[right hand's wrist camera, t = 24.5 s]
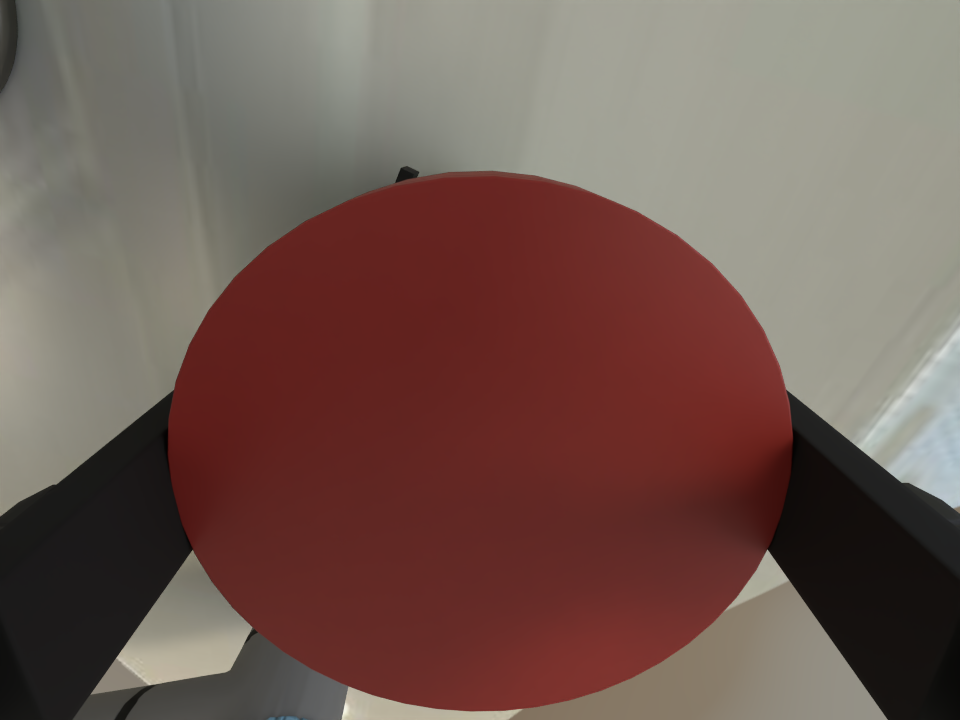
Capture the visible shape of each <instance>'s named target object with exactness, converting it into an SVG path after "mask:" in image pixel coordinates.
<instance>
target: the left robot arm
mask: <svg viewBox="0 0 960 720" xmlns="http://www.w3.org/2000/svg"><path fill="white" fill-rule="evenodd" d="M16 48H17V14H16V6H15V0H0V92H1V91H2V89H3V87H4V86H5V84H6V82H7V80H8V78H9V75H10V73H11V70H12V67H13V63H14V59H15V54H16ZM418 174H419V172H418V171H416V170H414V169H412V168H410V167H408V166H406V167H403V168H401V169H400V172H399V174H398V177H397V180H396V182H395V183H398V182H401V181H404V180H407V179H413V178H417V176H418ZM347 690H348V686H346V685H344V684H341V683H339V682H337V681H335V680H333V679H331V678H329V677H327V676H324V675H322V674H320V673H318V672H316V671H314V670H312V669H310V668H309V667H307V666H305V665H304V664H302V663H301V662H299V661H297V660H296V659H294V658H292V657H291V656H289V655H288V654H286V653H284V652H283V651H282V650H280V649H279V648H278V647H276V646H275V645H274V644H273V643H271V642H270V641H269V640H267V639H266V638H265V637H264V636H262V635H261V634H260V633H258V632H257V631H256V630H255V629H254V628H252V630H251V632H250V634H249V635H248V637H247V639H246V641H245V643H244V645H243V647H242V649H241V651H240V653H239V655H238V657H237V659H236V661H235V662H234V664H233V666H232V668H231V670H230V671H228V672H225V673H220V674H213V675H207V676H201V677H195V678H190V679H184V680H178V681H172V682H166V683H161V684H156V685H149V686H143V687H136V688H130V689H124V690H117V691H112V692H105V693H98V694H92V695H90V696H89V697H88V698H87V700H86V701H85V703H84V704H83V706H82V707H81V708H80V710H79V711H78V713H77V714H76V715H75V717H74V718H73V720H341V719H342V714H343V709H344V705H345V700H346V695H347Z"/></svg>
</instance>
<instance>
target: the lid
mask: <svg viewBox="0 0 960 720" xmlns="http://www.w3.org/2000/svg"><path fill="white" fill-rule="evenodd" d="M792 451H793V433H792V423H791V413H790V403H789V399H788V395H787V392H786V388H785V384H784V380H783V376H782V373H781V369H780V365H779V363H778V361H777V359H776V356H775V354H774V352H773V350H772V347H771V345H770V343H769V341H768V339H767V336H766V334H765V332H764V330H763V328H762V327H761V325H760V324H759V322H758V321H757V319H756V317H755V316H754V314H753V313H752V311H751V310H750V308H749V307H748V305H747V304H746V302H745V301H744V299H743V298H742V296H741V295H740V294H739V293H738V292H737V290H736V289H735V288H734V287H733V286H732V285H731V284H730V283H729V282H728V280H727V279H726V278H725V277H724V276H723V275H722V274H721V273H720V272H719V271H718V269H717V268H716V267H715V266H714V265H713V264H712V263H711V262H710V261H708V260H707V259H706V258H705V257H703V256H702V255H701V254H700V253H699V252H697V251H696V250H695V249H694V248H692V247H691V246H690V245H689V244H687V243H686V242H685V241H684V240H683V239H681V238H680V237H679V236H678V235H676V234H674V233H673V232H671V231H669V230H667V229H666V228H664V227H662V226H661V225H659V224H657V223H656V222H654V221H652V220H651V219H649V218H647V217H645V216H644V215H642V214H640V213H639V212H637V211H635V210H632V209H630V208H628V207H625V206H623V205H621V204H619V203H616V202H614V201H611V200H609V199H607V198H604V197H602V196H599V195H597V194H594V193H592V192H589V191H587V190H585V189H582V188H580V187H577V186H574V185H570V184H566V183H562V182H558V181H554V180H550V179H546V178H543V177H539V176H534V175H525V174H516V173H507V172H498V171H474V172H448V173H442V174H436V175H430V176H424V177H418V178H413V179H407V180H404V181H401V182H398V183H394V184H391V185H388V186H385V187H382V188H379V189H376V190H372V191H369V192H367V193H364V194H362V195H360V196H357V197H355V198H353V199H350V200H348V201H346V202H344V203H342V204H340V205H338V206H336V207H334V208H332V209H329V210H327V211H325V212H323V213H321V214H319V215H317V216H315V217H313V218H311V219H309V220H307V221H305V222H303V223H302V224H300V225H299V226H297V227H296V228H295V229H293V230H292V231H290V232H289V233H287V234H286V235H284V236H283V237H281V238H280V239H278V240H277V241H275V242H274V243H272V244H271V245H269V246H268V247H267V248H266V249H265V250H263V251H262V252H261V253H260V254H259V255H258V256H257V257H256V258H255V259H254V260H253V261H252V262H251V263H249V264H248V265H247V266H246V267H245V268H244V269H243V270H242V271H241V272H240V273H239V274H238V275H236V276H235V278H234V279H233V280H232V281H231V283H230V284H229V285H228V286H227V288H226V289H225V290H224V291H223V293H222V294H221V295H220V296H219V298H218V299H217V300H216V301H215V303H214V304H213V305H212V307H211V308H210V309H209V311H208V312H207V314H206V316H205V318H204V319H203V321H202V323H201V325H200V327H199V328H198V330H197V332H196V334H195V335H194V337H193V339H192V341H191V343H190V344H189V347H188V349H187V352H186V355H185V358H184V360H183V363H182V366H181V369H180V371H179V374H178V377H177V379H176V383H175V388H174V393H173V399H172V404H171V409H170V414H169V423H168V453H167V455H168V463H169V471H170V478H171V483H172V487H173V492H174V496H175V500H176V503H177V507H178V511H179V515H180V519H181V523H182V526H183V528H184V530H185V533H186V535H187V537H188V539H189V542H190V544H191V546H192V549H193V551H194V553H195V555H196V556H197V558H198V560H199V561H200V563H201V565H202V566H203V568H204V570H205V571H206V573H207V574H208V576H209V578H210V579H211V581H212V582H213V584H214V585H215V586H216V587H217V589H218V590H219V591H220V592H221V594H222V595H223V596H224V597H225V599H226V600H227V601H228V602H229V604H230V605H231V606H232V607H233V608H234V609H235V610H236V611H237V612H238V613H239V614H240V615H241V616H242V617H243V618H244V619H245V620H246V621H247V622H248V623H249V624H250V625H251V626H252V627H253V628H254V629H255V630H256V631H257V632H258V633H260V634H261V635H262V636H264V637H265V638H266V639H267V640H269V641H270V642H271V643H273V644H274V645H275V646H276V647H278V648H279V649H280V650H282V651H283V652H284V653H286V654H288V655H289V656H291V657H292V658H294V659H296V660H297V661H299V662H301V663H302V664H304V665H305V666H307V667H309V668H310V669H312V670H314V671H316V672H318V673H320V674H322V675H324V676H327V677H329V678H331V679H333V680H335V681H337V682H339V683H341V684H344V685H346V686H349V687H352V688H355V689H357V690H360V691H363V692H365V693H368V694H371V695H374V696H378V697H382V698H385V699H389V700H393V701H397V702H401V703H405V704H411V705H417V706H423V707H429V708H435V709H445V710H459V711H506V710H515V709H524V708H533V707H539V706H544V705H549V704H554V703H559V702H564V701H569V700H572V699H576V698H579V697H582V696H585V695H589V694H592V693H595V692H598V691H602V690H604V689H606V688H609V687H611V686H614V685H616V684H619V683H621V682H623V681H626V680H628V679H631V678H633V677H635V676H636V675H638V674H640V673H642V672H644V671H646V670H648V669H650V668H651V667H653V666H655V665H657V664H659V663H661V662H662V661H664V660H665V659H667V658H668V657H670V656H671V655H672V654H674V653H675V652H677V651H678V650H680V649H681V648H683V647H684V646H686V645H687V644H689V643H690V642H691V641H692V640H693V639H695V638H696V637H697V636H698V635H699V634H700V633H701V632H703V631H704V630H705V629H706V628H707V627H709V626H710V625H711V624H712V623H713V622H714V621H715V620H716V619H717V618H718V617H719V616H720V615H721V614H722V613H723V612H724V610H725V609H726V608H727V607H728V606H729V605H730V604H731V603H732V602H733V601H734V600H735V599H736V598H737V596H738V595H739V593H740V592H741V591H742V589H743V588H744V586H745V585H746V584H747V582H748V581H749V579H750V578H751V577H752V575H753V574H754V573H755V571H756V570H757V568H758V566H759V564H760V562H761V560H762V558H763V557H764V555H765V553H766V551H767V549H768V547H769V545H770V544H771V542H772V539H773V537H774V534H775V531H776V529H777V526H778V523H779V521H780V517H781V514H782V510H783V506H784V502H785V498H786V493H787V489H788V485H789V481H790V476H791V468H792Z"/></svg>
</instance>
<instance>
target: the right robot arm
mask: <svg viewBox="0 0 960 720" xmlns="http://www.w3.org/2000/svg"><path fill="white" fill-rule="evenodd" d="M786 392H787V395H788V399H789V403H790V413H791V423H792V433H793V451H792V468H791V476H790V481H789V485H788V489H787V493H786V498H785V502H784V506H783V510H782V514H781V517H780V521H779V523H778V526H777V529H776V531H775V534H774V537H773V539H772V542H771V544H770V545H769V547H768V551H769V552H770V554H771V555H772V556H773V558H774V559H775V561H776V562H777V563H778V565H779V566H780V568H781V569H782V571H783V572H784V573H785V575H786V576H787V578H788V579H789V580H790V582H791V583H792V585H793V586H794V587H795V589H796V590H797V592H798V593H799V595H800V596H801V597H802V599H803V600H804V602H805V603H806V604H807V606H808V607H809V609H810V610H811V611H812V613H813V614H814V616H815V617H816V619H817V620H818V621H819V623H820V624H821V626H822V627H823V629H824V630H825V631H826V633H827V634H828V635H829V637H830V638H831V640H832V641H833V643H834V644H835V646H836V647H837V648H838V650H839V651H840V653H841V654H842V655H843V657H844V658H845V660H846V661H847V662H848V664H849V665H850V667H851V668H852V670H853V671H854V672H855V674H856V675H857V677H858V678H859V680H860V681H861V682H862V684H863V685H864V687H865V688H866V689H867V691H868V692H869V694H870V695H871V697H872V698H873V699H874V701H875V702H876V704H877V705H878V706H879V708H880V709H881V711H882V712H883V713H884V715H885V716H886V718H887V719H888V720H960V514H959V513H958V512H957V511H955V510H954V509H953V508H952V507H950V506H949V505H948V504H946V503H945V502H944V501H943V500H941V499H939V498H937V497H935V496H933V495H931V494H929V493H927V492H925V491H923V490H921V489H919V488H917V487H915V486H913V485H911V484H909V483H901V482H900V481H899V480H897V479H896V478H895V477H894V476H892V475H891V474H890V473H889V472H888V471H886V470H885V469H884V468H883V467H881V466H880V465H879V464H878V463H876V462H875V461H874V460H873V459H871V458H870V457H869V456H868V455H866V454H865V453H864V452H863V451H861V450H860V449H859V448H858V447H857V446H855V445H854V444H853V443H852V442H850V441H849V440H848V439H847V438H845V437H844V436H843V435H842V434H840V433H839V432H838V431H837V430H835V429H834V428H833V427H832V426H831V425H829V424H828V423H827V422H826V421H824V420H823V419H822V418H821V417H819V416H818V415H817V414H816V413H814V412H813V411H812V410H811V409H809V408H808V407H807V406H806V405H804V404H803V403H802V402H801V401H800V400H798V399H797V398H796V397H795V396H793V395H792V394H791V393H790V392H788V391H787V390H786ZM173 393H174V390H173V391H172V392H171V393H170V394H168V395H167V396H166V397H165V398H163V399H162V400H161V401H160V402H158V403H157V404H156V405H155V406H153V407H152V408H151V409H150V410H148V411H147V412H146V413H145V414H144V415H142V416H141V417H140V418H139V419H137V420H136V421H135V422H134V423H132V424H131V425H130V426H129V427H127V428H126V429H125V430H124V431H122V432H121V433H120V434H119V435H118V436H116V437H115V438H114V439H113V440H111V441H110V442H109V443H108V444H106V445H105V446H104V447H103V448H101V449H100V450H99V451H98V452H96V453H95V454H94V455H93V456H91V457H90V458H89V459H88V460H87V461H85V462H84V463H83V464H82V465H80V466H79V467H78V468H77V469H75V470H74V471H73V472H72V473H70V474H69V475H68V476H67V477H65V478H64V479H63V480H62V481H60V482H59V483H58V484H57V485H51V486H49V487H48V488H46V489H44V490H42V491H40V492H38V493H36V494H34V495H32V496H30V497H28V498H26V499H24V500H22V501H20V502H19V503H17V504H16V505H15V506H13V507H12V508H11V509H10V510H8V511H7V512H6V513H5V514H3V515H2V516H1V517H0V720H73V718H74V717H75V715H76V714H77V713H78V711H79V710H80V708H81V707H82V706H83V704H84V703H85V701H86V700H87V698H88V697H89V696H90V694H91V693H92V691H93V690H94V689H95V687H96V686H97V684H98V683H99V681H100V680H101V679H102V677H103V676H104V674H105V673H106V672H107V670H108V669H109V667H110V666H111V664H112V663H113V662H114V660H115V659H116V657H117V656H118V655H119V653H120V652H121V650H122V649H123V647H124V646H125V645H126V643H127V642H128V640H129V639H130V638H131V636H132V635H133V633H134V632H135V631H136V629H137V628H138V626H139V625H140V623H141V622H142V621H143V619H144V618H145V616H146V615H147V614H148V612H149V611H150V609H151V608H152V606H153V605H154V604H155V602H156V601H157V599H158V598H159V597H160V595H161V594H162V592H163V591H164V589H165V588H166V587H167V585H168V584H169V582H170V581H171V580H172V578H173V577H174V575H175V574H176V572H177V571H178V570H179V568H180V567H181V565H182V564H183V563H184V561H185V560H186V558H187V557H188V555H189V554H190V553H191V551H192V550H193V549H192V546H191V544H190V542H189V539H188V537H187V535H186V533H185V530H184V528H183V526H182V523H181V519H180V515H179V511H178V507H177V503H176V500H175V496H174V492H173V487H172V483H171V478H170V471H169V463H168V455H167V453H168V423H169V414H170V409H171V404H172V399H173Z"/></svg>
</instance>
